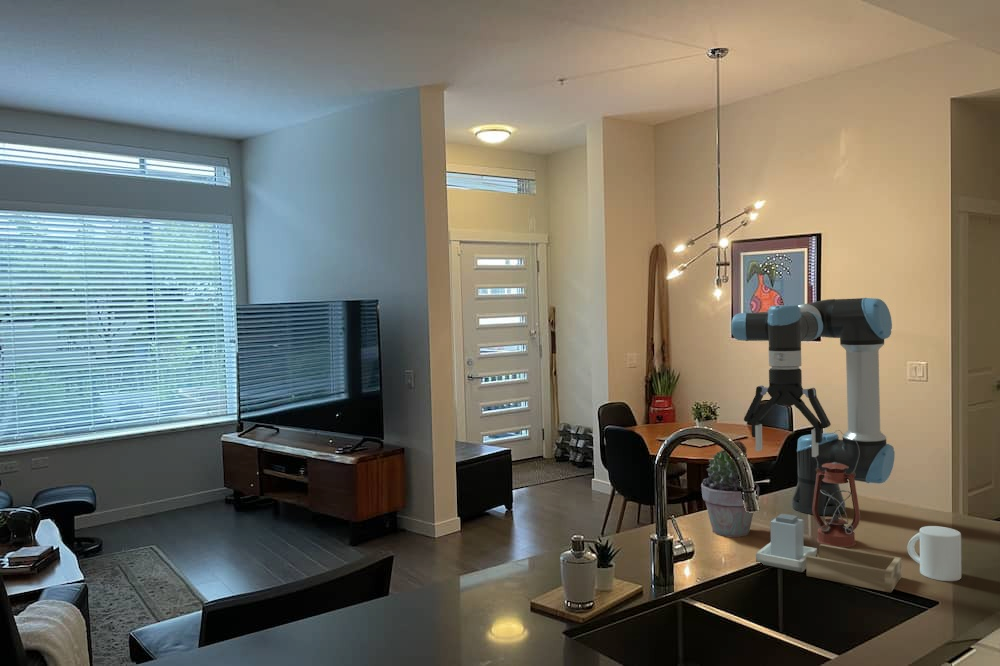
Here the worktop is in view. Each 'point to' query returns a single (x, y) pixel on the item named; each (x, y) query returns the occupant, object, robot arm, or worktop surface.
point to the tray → (784, 559)
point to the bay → (855, 568)
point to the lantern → (835, 527)
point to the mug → (938, 552)
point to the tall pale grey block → (787, 536)
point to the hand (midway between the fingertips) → (786, 453)
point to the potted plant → (726, 496)
